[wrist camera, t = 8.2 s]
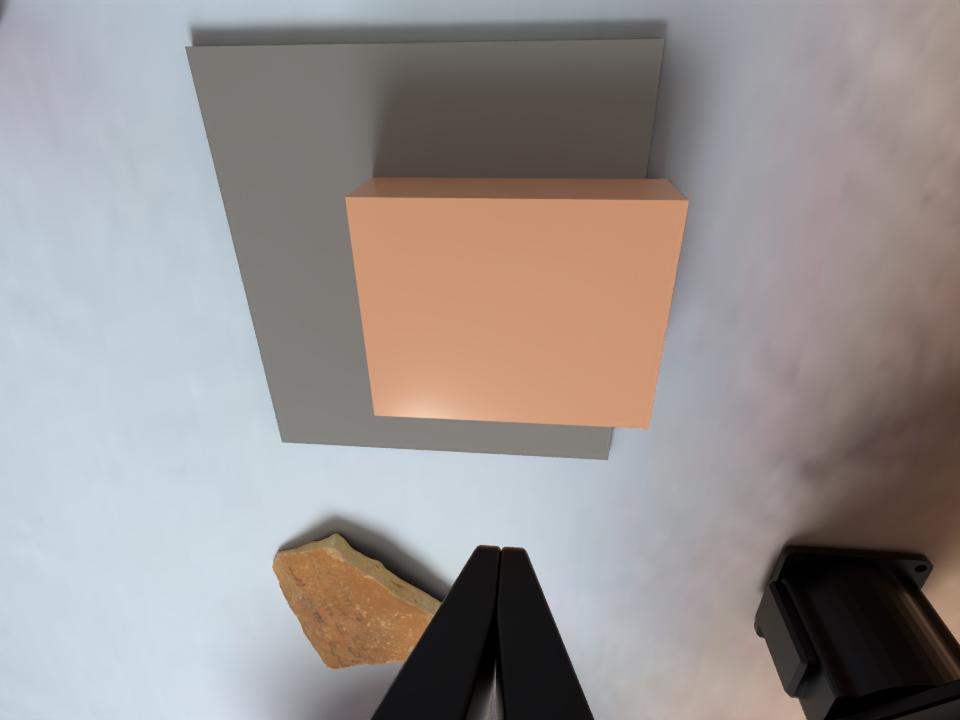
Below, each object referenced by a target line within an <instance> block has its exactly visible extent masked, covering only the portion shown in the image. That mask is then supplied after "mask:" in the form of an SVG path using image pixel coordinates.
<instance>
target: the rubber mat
mask: <svg viewBox="0 0 960 720" xmlns="http://www.w3.org/2000/svg"><path fill="white" fill-rule="evenodd" d="M664 43H665V39H611V40H551V41H491V42H431V43H371V44H311V45H252V46H192V47H185V48H186V52H187V57H188V61H189V65H190V69H191V73H192V77H193V81H194V85H195V89H196V93H197V97H198V101H199V105H200V110H201V114H202V118H203V122H204V126H205V130H206V134H207V138H208V142H209V146H210V150H211V154H212V158H213V162H214V167H215V171H216V175H217V179H218V183H219V187H220V191H221V195H222V199H223V203H224V207H225V211H226V215H227V220H228V224H229V228H230V232H231V236H232V240H233V244H234V248H235V252H236V256H237V260H238V264H239V268H240V272H241V277H242V281H243V285H244V289H245V293H246V297H247V301H248V305H249V309H250V313H251V317H252V321H253V325H254V330H255V334H256V338H257V342H258V346H259V350H260V354H261V358H262V362H263V366H264V370H265V374H266V378H267V382H268V387H269V391H270V395H271V399H272V403H273V407H274V411H275V415H276V419H277V423H278V427H279V431H280V435H281V439H282V442H287V443H305V444H324V445H342V446H361V447H379V448H397V449H416V450H434V451H453V452H471V453H489V454H508V455H526V456H545V457H563V458H582V459H600V460H608V456H609V448H610V441H611V434H612V427H602V426H582V425H561V424H540V423H519V422H499V421H478V420H457V419H436V418H415V417H395V416H375V415H374V408H373V401H372V393H371V386H370V378H369V371H368V364H367V356H366V349H365V341H364V334H363V327H362V319H361V312H360V304H359V297H358V289H357V282H356V275H355V267H354V260H353V252H352V245H351V238H350V230H349V223H348V215H347V208H346V201H345V197H346V196H347V195H349V194H350V193H351V192H353V191H354V190H355V189H357V188H358V187H360V186H361V185H362V184H364V183H365V182H366V181H368V180H369V179H371V178H372V177H415V178H579V179H646V175H647V168H648V161H649V153H650V146H651V139H652V131H653V124H654V116H655V109H656V102H657V94H658V87H659V80H660V72H661V65H662V57H663V50H664Z"/></svg>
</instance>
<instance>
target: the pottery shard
mask: <svg viewBox="0 0 960 720" xmlns="http://www.w3.org/2000/svg"><path fill="white" fill-rule="evenodd" d="M273 571H274V573H275V575H276V576H277V578H278V580H279V584H280V588H281V589H282V591H283V594H284V596H285V598H286V600H287V602H288V604H289V606H290V608H291V610H292V611H293V613H294V614H295V615H296V617H297V618H298V620H299V622H300V623H301V626H302V628H303V631H304V634H305V635H306V637H307V638H308V640H309V641H310V642H311V644H312V646H313V647H314V649H315V650H316V652H317V653H318V654H319V656H320V657H321V659H322V660H323V662H324V663H325V664H326V666H327V667H328V668H329V669H331V670H334V669H340V668H345V667H350V666H354V665H363V664H369V665H375V664H383V663H389V662H401V661H405V660H407V658H408V656H409V655H410V653H411V652H412V650H413V648H414V647H415V645H416V644H417V642H418V640H419V639H420V637H421V635H422V634H423V632H424V631H425V629H426V627H427V626H428V624H429V623H430V621H431V619H432V618H433V616H434V615H435V613H436V611H437V610H438V608H439V606H440V605H441V603H442V602H439V601H438V600H437V599H435V598H433V597H432V596H430V595H429V594H428V593H426V592H424V591H422V590H420V589H419V588H416V587H414V586H413V585H411V584H409V583H407V582H405V581H404V580H402V579H400V578H399V577H397V576H396V575H394V574H393V573H392V572H390V571H389V570H387V569H386V568H385V567H384V566H383V564H382V563H381V562H379V561H377V560H373V559H371V558H369V557H367V556H364V555H363V554H361V553H360V552H358V551H356V550H354V549H353V548H351V546H350V545H349V544H348V543H347V541H346V540H345V539H344V538H343V537H342V536H340V535H339V534H333V535H331V536H330V537H328V538H326V539H323V540H320V541H312V542H309V543H307V544H304V545H302V546H300V547H298V548H293V549H289V550H284V551H279V552H278V553H277V555H276V558H275V560H274V563H273Z"/></svg>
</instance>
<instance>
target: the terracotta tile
mask: <svg viewBox="0 0 960 720" xmlns="http://www.w3.org/2000/svg"><path fill="white" fill-rule="evenodd" d="M345 201H346V208H347V215H348V223H349V230H350V238H351V245H352V252H353V260H354V267H355V275H356V282H357V289H358V297H359V304H360V312H361V319H362V327H363V334H364V341H365V349H366V356H367V364H368V371H369V378H370V386H371V393H372V401H373V408H374V415H375V416H395V417H415V418H436V419H457V420H478V421H499V422H519V423H540V424H561V425H582V426H602V427H623V428H644V429H649V425H650V419H651V414H652V408H653V402H654V397H655V391H656V385H657V380H658V374H659V368H660V363H661V357H662V351H663V346H664V340H665V334H666V329H667V323H668V317H669V312H670V306H671V300H672V295H673V289H674V283H675V278H676V272H677V266H678V261H679V255H680V249H681V244H682V238H683V232H684V227H685V221H686V215H687V210H688V204H689V200H688V199H687V198H686V197H685V196H684V195H683V194H682V193H681V192H680V191H679V190H678V189H677V188H676V187H675V186H674V185H673V184H672V183H671V182H670V181H669V180H668V179H579V178H415V177H372V178H371V179H369V180H368V181H366V182H365V183H364V184H362V185H361V186H360V187H358V188H357V189H355V190H354V191H353V192H351V193H350V194H349V195H347V196H346V197H345Z"/></svg>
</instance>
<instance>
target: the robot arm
mask: <svg viewBox="0 0 960 720" xmlns="http://www.w3.org/2000/svg"><path fill="white" fill-rule="evenodd" d="M932 569H933V565H932V563H931V562H930V560H929V559H928V558H927V557H926V556H925V555H921V554H910V553H895V552H880V551H865V550H850V549H835V548H820V547H805V546H790V547H787V548H785V549H784V550H783V551H782V553H781V556H780V558H779V561H778V563H777V566H776V569H775V571H774V574H773V576H772V579H771V581H770V583H769V584H768V585H767V587H766V590H765V593H764V595H763V598H762V600H761V603H760V606H759V608H758V611H757V614H756V617H757V618H756V621H755V623H754V628H755V631H756V633H757V635H758V636H759V637H762V638H765V641H766V643H767V646H768V648H769V651H770V654H771V656H772V659H773V661H774V664H775V667H776V669H777V672H778V675H779V677H780V680H781V682H782V685H783V688H784V690H785V692H786V693H787V694H788V695H789V696H790V697H792V698H798V699H799V701H800V704H801V706H802V709H803V711H804V714H805V716H806V719H807V720H960V644H959V643H958V641H957V640H956V639H955V637H954V636H953V634H952V633H951V632H950V630H949V629H948V627H947V626H946V625H945V623H944V622H943V620H942V619H941V617H940V616H939V615H938V613H937V612H936V610H935V609H934V608H933V606H932V605H931V603H930V602H929V601H928V599H927V598H926V596H925V595H924V593H923V592H922V591H921V588H922V586H923V585H924V583H925V581H926V579H927V578H928V576H929V574H930V573H931V571H932ZM495 671H496V702H497V720H594V718H593V715H592V713H591V710H590V708H589V705H588V703H587V700H586V698H585V695H584V693H583V690H582V688H581V685H580V683H579V680H578V678H577V675H576V673H575V670H574V668H573V665H572V663H571V661H570V658H569V656H568V653H567V651H566V648H565V646H564V643H563V641H562V638H561V636H560V633H559V631H558V628H557V626H556V623H555V621H554V618H553V616H552V613H551V611H550V608H549V606H548V603H547V601H546V598H545V596H544V594H543V591H542V589H541V586H540V584H539V581H538V579H537V576H536V574H535V571H534V569H533V566H532V564H531V561H530V559H529V556H528V554H527V552H526V550H525V549H524V548H517V547H504V548H502V550H501V549H500V548H499V547H498V546H488V545H479V546H477V548H476V549H475V550H474V552H473V553H472V555H471V556H470V558H469V560H468V561H467V563H466V565H465V566H464V568H463V569H462V571H461V573H460V574H459V576H458V577H457V579H456V581H455V582H454V584H453V586H452V587H451V589H450V590H449V592H448V594H447V595H446V597H445V598H444V600H443V602H442V603H441V605H440V606H439V608H438V610H437V611H436V613H435V615H434V616H433V618H432V619H431V621H430V623H429V624H428V626H427V627H426V629H425V631H424V632H423V634H422V635H421V637H420V639H419V640H418V642H417V644H416V645H415V647H414V648H413V650H412V652H411V653H410V655H409V656H408V658H407V660H406V661H405V663H404V665H403V666H402V668H401V669H400V671H399V673H398V674H397V676H396V677H395V679H394V681H393V682H392V684H391V685H390V687H389V689H388V690H387V692H386V694H385V695H384V697H383V698H382V700H381V702H380V703H379V705H378V706H377V708H376V710H375V711H374V713H373V715H372V716H371V718H370V720H488V718H489V713H490V707H491V701H492V695H493V688H494V682H495Z"/></svg>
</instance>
